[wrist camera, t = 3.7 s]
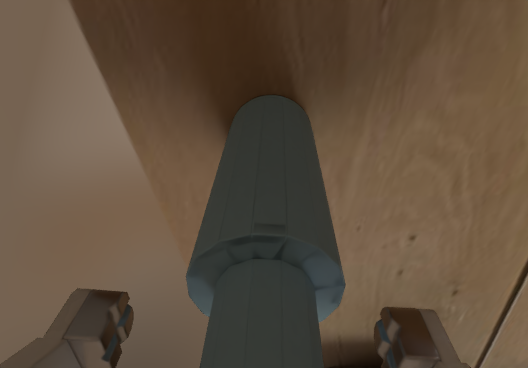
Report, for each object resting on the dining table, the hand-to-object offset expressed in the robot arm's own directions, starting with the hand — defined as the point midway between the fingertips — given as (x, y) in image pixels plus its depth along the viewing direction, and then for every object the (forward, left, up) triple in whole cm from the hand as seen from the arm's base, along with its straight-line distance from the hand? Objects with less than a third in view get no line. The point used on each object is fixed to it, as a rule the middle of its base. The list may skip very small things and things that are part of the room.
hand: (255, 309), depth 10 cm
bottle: (0, 0, -13) cm, 13 cm away
